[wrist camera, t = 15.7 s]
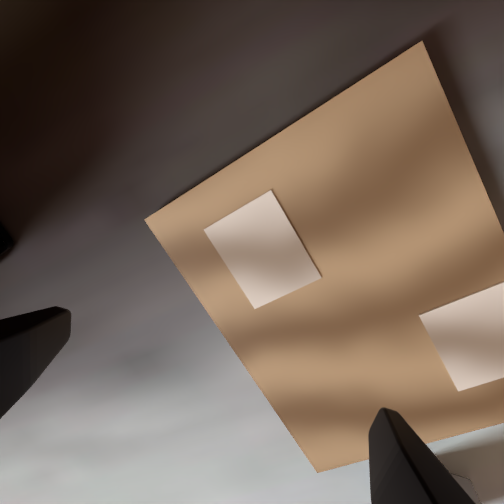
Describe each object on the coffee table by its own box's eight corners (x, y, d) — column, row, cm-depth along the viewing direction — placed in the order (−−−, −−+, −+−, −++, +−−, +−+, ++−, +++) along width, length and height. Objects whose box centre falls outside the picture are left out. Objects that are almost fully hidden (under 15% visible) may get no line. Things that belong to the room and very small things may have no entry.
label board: (153, 215, 20) (143, 220, 19) (413, 48, 15) (422, 39, 14) (316, 457, 24) (317, 474, 23) (560, 387, 19) (577, 404, 18)
